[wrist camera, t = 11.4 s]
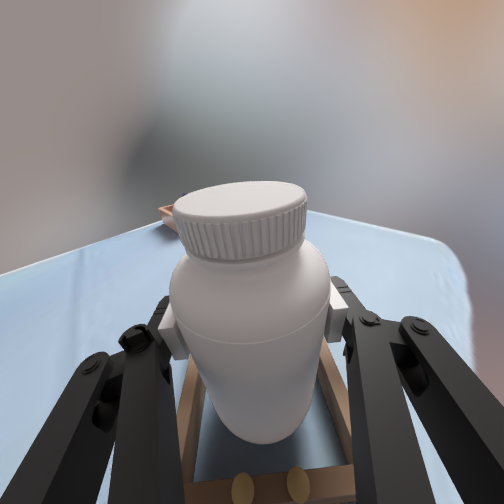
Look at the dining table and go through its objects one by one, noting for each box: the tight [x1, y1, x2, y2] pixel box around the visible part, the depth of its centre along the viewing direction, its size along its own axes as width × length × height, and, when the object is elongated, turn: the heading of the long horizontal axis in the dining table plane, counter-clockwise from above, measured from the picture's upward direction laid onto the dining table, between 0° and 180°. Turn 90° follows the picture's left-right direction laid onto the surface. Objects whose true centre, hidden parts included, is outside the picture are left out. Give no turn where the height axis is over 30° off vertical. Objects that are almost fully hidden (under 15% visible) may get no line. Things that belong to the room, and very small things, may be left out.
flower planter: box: [158, 204, 178, 233], centre depth 55 cm, size 13×14×5 cm
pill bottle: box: [169, 181, 331, 444], centre depth 11 cm, size 8×8×15 cm
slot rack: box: [176, 336, 356, 504], centre depth 20 cm, size 24×12×3 cm, turn 3°
